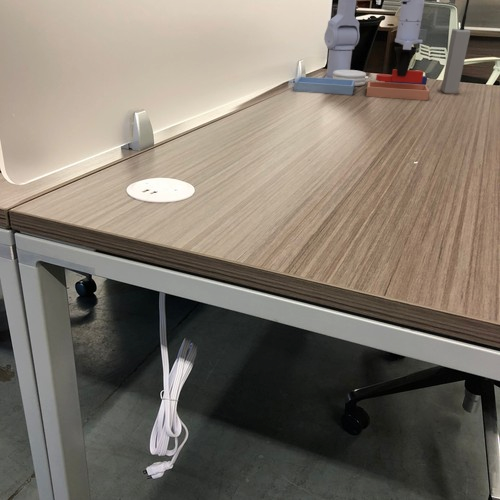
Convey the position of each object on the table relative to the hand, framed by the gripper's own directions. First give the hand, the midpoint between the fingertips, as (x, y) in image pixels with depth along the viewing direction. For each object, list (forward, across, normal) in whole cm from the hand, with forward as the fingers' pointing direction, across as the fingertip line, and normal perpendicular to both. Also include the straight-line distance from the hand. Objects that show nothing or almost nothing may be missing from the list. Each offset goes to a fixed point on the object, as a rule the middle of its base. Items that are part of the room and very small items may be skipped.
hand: (401, 75), depth 138 cm
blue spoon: (+5, +17, -2) cm, 18 cm away
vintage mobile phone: (+5, +10, -14) cm, 18 cm away
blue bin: (+5, 0, +20) cm, 21 cm away
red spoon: (+2, 0, 0) cm, 2 cm away
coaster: (+5, +13, +14) cm, 20 cm away
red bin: (+5, 0, 0) cm, 5 cm away
